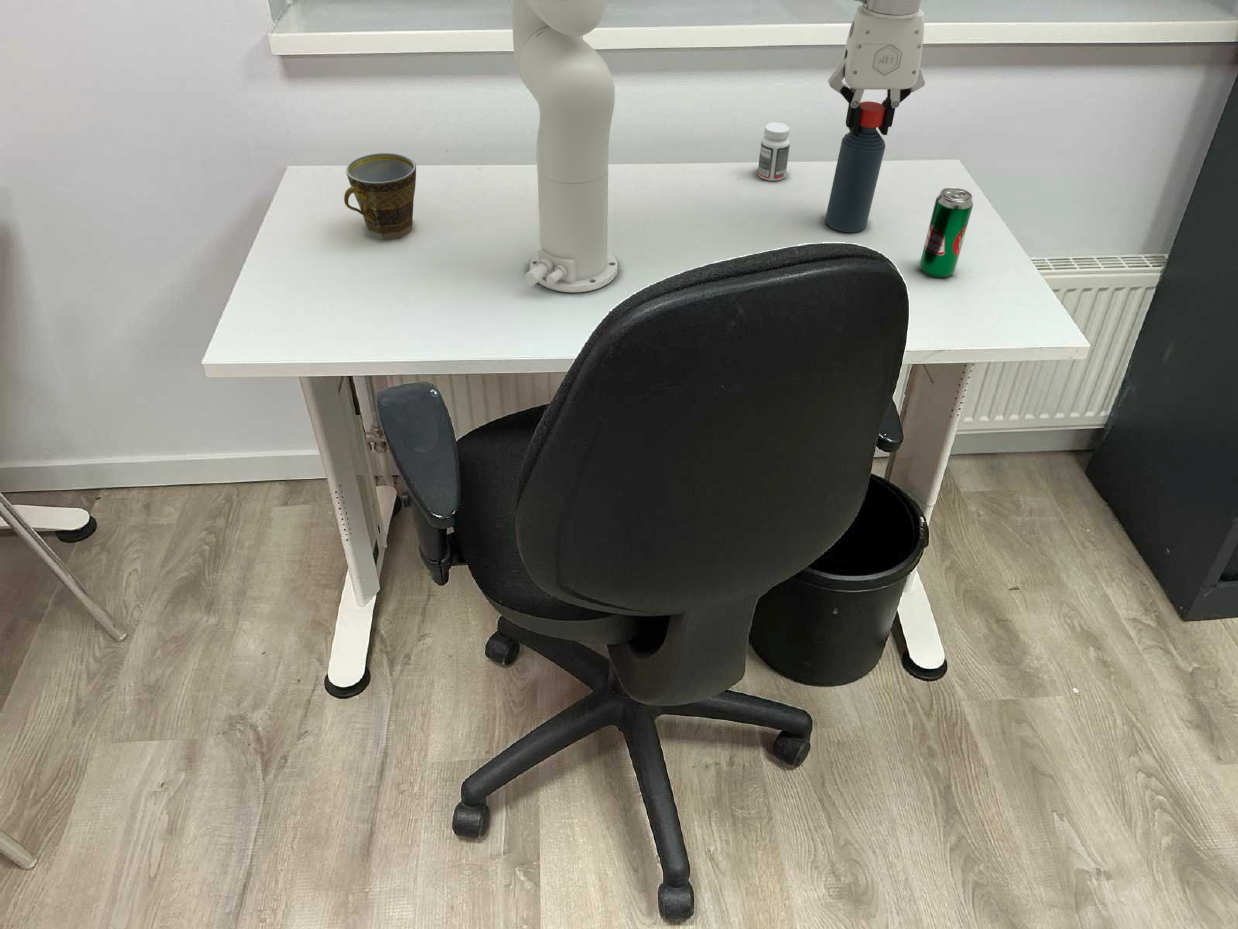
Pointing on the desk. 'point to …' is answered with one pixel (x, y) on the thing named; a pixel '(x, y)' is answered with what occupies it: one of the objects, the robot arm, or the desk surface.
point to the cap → (871, 114)
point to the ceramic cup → (383, 193)
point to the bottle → (855, 180)
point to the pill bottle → (774, 152)
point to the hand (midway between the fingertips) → (867, 130)
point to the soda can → (946, 232)
